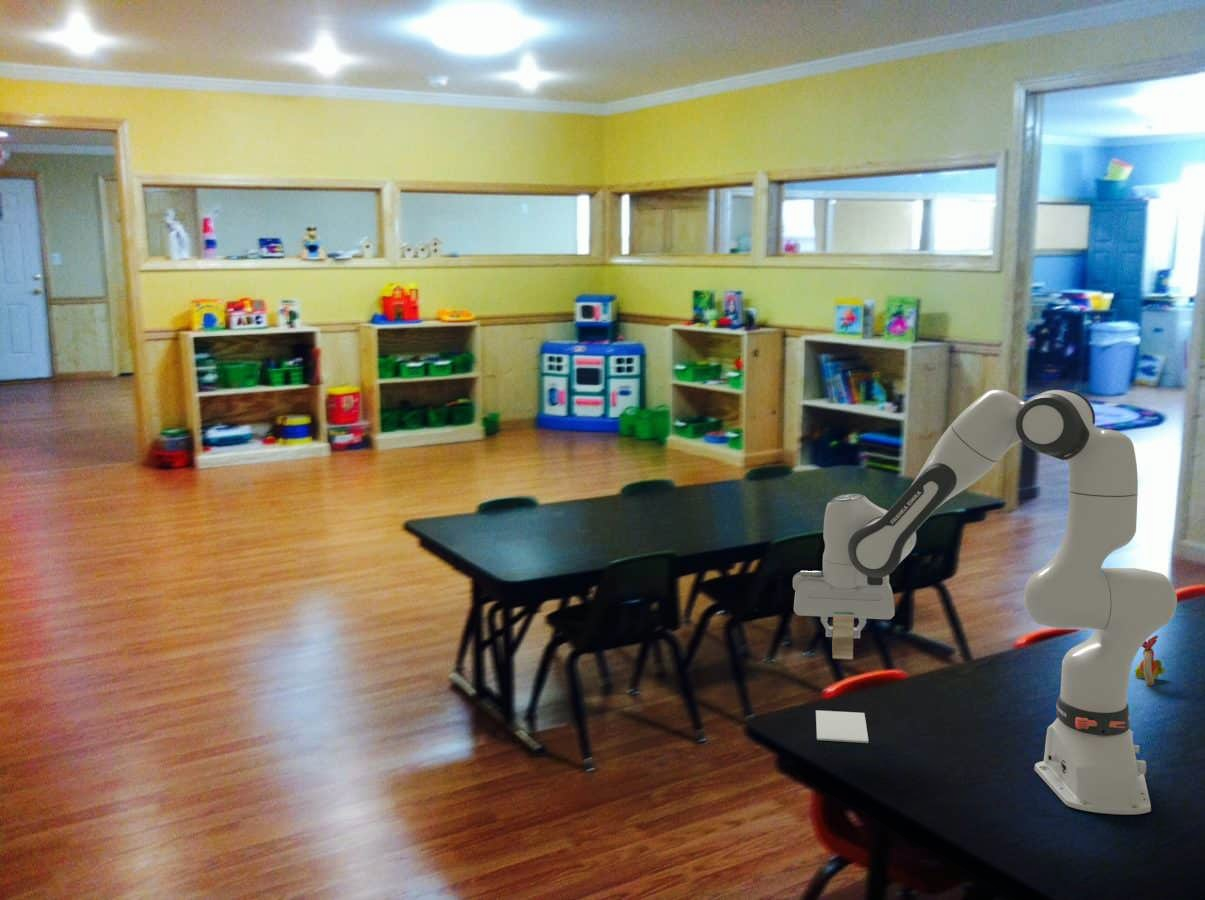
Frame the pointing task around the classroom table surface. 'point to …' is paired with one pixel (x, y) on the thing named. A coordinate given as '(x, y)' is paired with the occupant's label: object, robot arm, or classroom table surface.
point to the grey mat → (841, 726)
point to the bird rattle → (1149, 663)
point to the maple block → (843, 635)
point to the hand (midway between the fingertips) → (842, 636)
